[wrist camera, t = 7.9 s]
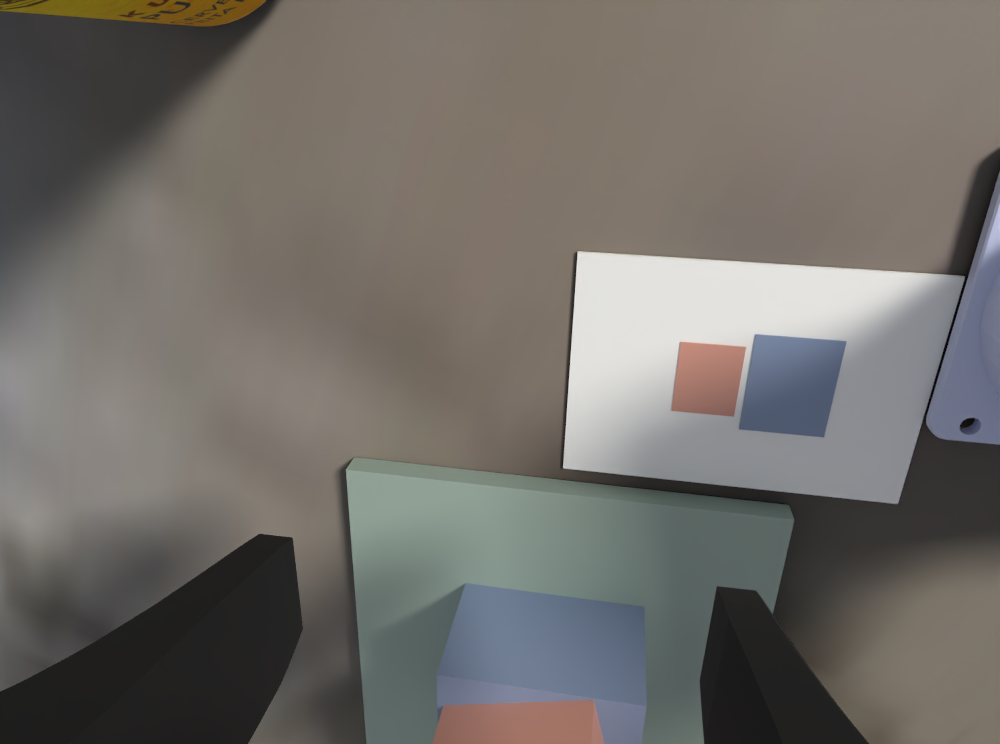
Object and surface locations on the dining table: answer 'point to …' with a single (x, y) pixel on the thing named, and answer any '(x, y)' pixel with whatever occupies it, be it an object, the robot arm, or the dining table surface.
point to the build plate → (543, 574)
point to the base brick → (548, 655)
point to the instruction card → (753, 372)
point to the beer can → (141, 10)
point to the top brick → (520, 723)
